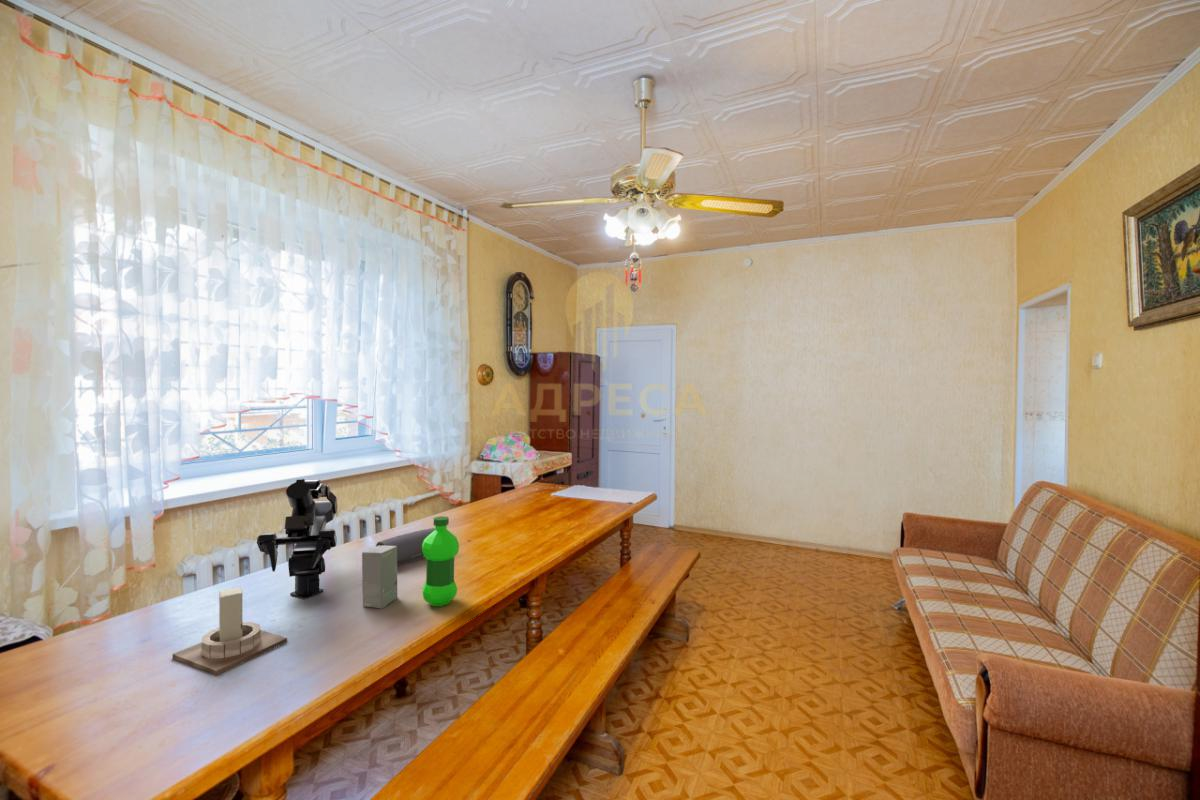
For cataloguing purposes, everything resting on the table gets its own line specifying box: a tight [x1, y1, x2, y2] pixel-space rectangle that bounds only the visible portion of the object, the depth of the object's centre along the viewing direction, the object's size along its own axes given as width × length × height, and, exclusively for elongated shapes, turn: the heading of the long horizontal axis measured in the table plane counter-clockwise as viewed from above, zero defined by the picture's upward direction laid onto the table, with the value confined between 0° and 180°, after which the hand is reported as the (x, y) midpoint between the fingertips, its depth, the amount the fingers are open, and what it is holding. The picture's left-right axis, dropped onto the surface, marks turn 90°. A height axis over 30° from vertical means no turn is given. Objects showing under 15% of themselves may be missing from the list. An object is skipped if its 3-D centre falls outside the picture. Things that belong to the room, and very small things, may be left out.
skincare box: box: [361, 545, 398, 609], centre depth 149 cm, size 8×7×16 cm
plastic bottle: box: [422, 516, 460, 607], centre depth 149 cm, size 10×10×25 cm
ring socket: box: [172, 621, 288, 676], centre depth 121 cm, size 16×16×4 cm
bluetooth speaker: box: [375, 527, 435, 566], centre depth 185 cm, size 23×9×10 cm, turn 144°
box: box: [218, 586, 243, 642], centre depth 121 cm, size 5×4×13 cm
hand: (293, 569), depth 137 cm, fingers open, 9 cm apart
